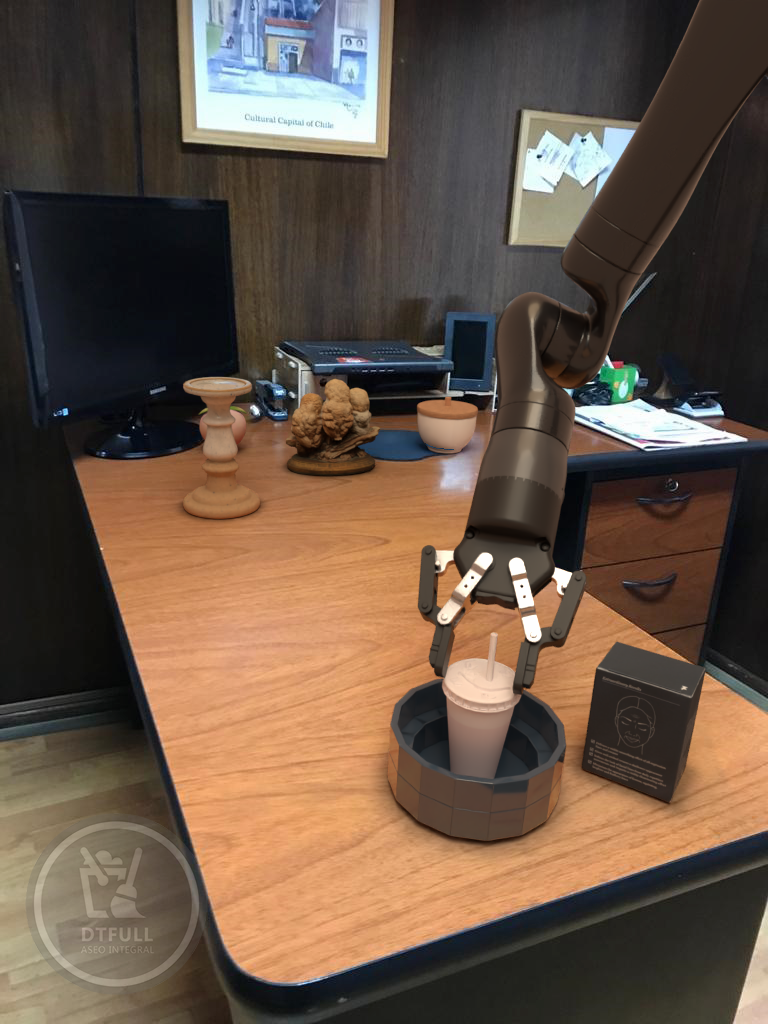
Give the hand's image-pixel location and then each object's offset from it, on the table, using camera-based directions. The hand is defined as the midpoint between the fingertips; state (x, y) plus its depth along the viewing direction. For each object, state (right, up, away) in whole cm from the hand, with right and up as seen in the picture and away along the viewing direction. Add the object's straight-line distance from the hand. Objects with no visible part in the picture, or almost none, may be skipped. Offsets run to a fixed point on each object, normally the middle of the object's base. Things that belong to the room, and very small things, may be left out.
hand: (478, 682), depth 61 cm
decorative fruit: (-39, +25, +94) cm, 105 cm away
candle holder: (-34, +14, +65) cm, 75 cm away
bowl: (0, -10, +5) cm, 11 cm away
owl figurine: (-17, +22, +88) cm, 92 cm away
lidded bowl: (+5, +27, +103) cm, 107 cm away
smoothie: (0, -9, +5) cm, 11 cm away
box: (+15, -10, +8) cm, 19 cm away
